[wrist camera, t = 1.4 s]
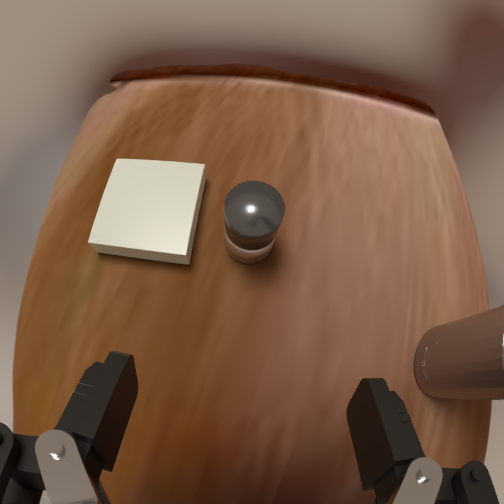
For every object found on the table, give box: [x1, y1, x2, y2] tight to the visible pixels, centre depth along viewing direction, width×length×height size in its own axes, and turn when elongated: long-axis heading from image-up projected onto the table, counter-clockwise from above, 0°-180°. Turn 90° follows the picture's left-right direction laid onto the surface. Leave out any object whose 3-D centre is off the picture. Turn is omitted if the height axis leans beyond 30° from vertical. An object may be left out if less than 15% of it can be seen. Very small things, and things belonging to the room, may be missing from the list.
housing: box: [225, 181, 285, 264], centre depth 30 cm, size 5×5×8 cm
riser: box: [88, 159, 206, 265], centre depth 33 cm, size 11×11×3 cm
